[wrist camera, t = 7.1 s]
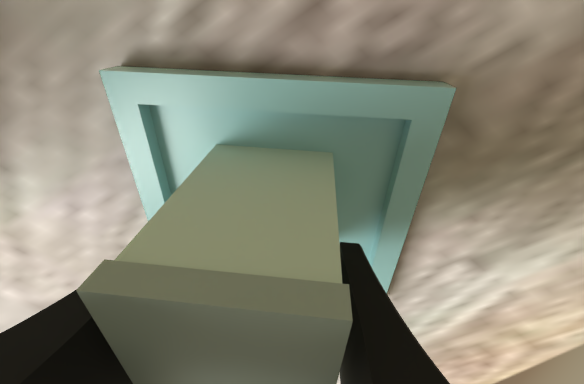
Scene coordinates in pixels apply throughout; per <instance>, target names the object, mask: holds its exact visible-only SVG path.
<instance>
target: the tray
mask: <svg viewBox="0 0 584 384" xmlns="http://www.w3.org/2000/svg"><path fill="white" fill-rule="evenodd" d="M99 72H100V75H101V78H102V81H103V84H104V88H105V91H106V94H107V97H108V100H109V103H110V106H111V109H112V112H113V115H114V118H115V121H116V124H117V127H118V130H119V133H120V137H121V140H122V143H123V146H124V149H125V152H126V155H127V158H128V161H129V164H130V167H131V170H132V173H133V176H134V179H135V183H136V186H137V189H138V192H139V195H140V198H141V201H142V204H143V207H144V210H145V213H146V216H147V219H148V221H149V220H150V219H151V218H152V217H153V216H154V215H155V214H156V212H157V211H158V210H159V209H160V208H161V207H162V206H163V204H164V203H165V202H166V201H167V200H168V199H169V198H170V196H171V195H172V194H173V193H174V192H175V191H176V190H177V188H178V187H179V186H180V185H181V184H182V183H183V182H184V181H185V179H186V178H187V177H188V176H189V175H190V174H191V173H192V171H193V170H194V169H195V168H196V167H197V166H198V165H199V163H200V162H201V161H202V160H203V159H204V158H205V157H206V156H207V154H208V153H209V152H210V151H211V150H212V149H213V148H214V146H215V145H216V144H217V145H232V146H246V147H260V148H274V149H289V150H303V151H317V152H331V153H333V163H334V177H335V190H336V204H337V217H338V231H339V244H340V242H348V243H359V244H360V245H361V246H362V249H363V251H364V253H365V255H366V257H367V259H368V261H369V263H370V265H371V267H372V269H373V271H374V273H375V274H376V276H377V278H378V280H379V282H380V283H381V285H382V287H383V289H384V290H385V292H386V294H387V291H388V288H389V285H390V282H391V279H392V276H393V273H394V270H395V268H396V265H397V262H398V259H399V256H400V253H401V250H402V247H403V244H404V241H405V238H406V235H407V232H408V229H409V226H410V223H411V220H412V217H413V214H414V212H415V209H416V206H417V203H418V200H419V197H420V194H421V191H422V188H423V185H424V182H425V179H426V176H427V173H428V170H429V167H430V164H431V161H432V159H433V156H434V153H435V150H436V147H437V144H438V141H439V138H440V135H441V132H442V129H443V126H444V123H445V120H446V117H447V114H448V111H449V108H450V105H451V103H452V100H453V97H454V94H455V91H456V88H455V87H453V86H451V85H449V84H447V83H445V82H438V81H417V80H397V79H376V78H355V77H335V76H314V75H293V74H273V73H252V72H231V71H211V70H190V69H169V68H149V67H128V66H117V67H112V68H107V69H103V70H99Z"/></svg>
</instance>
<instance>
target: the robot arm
mask: <svg viewBox="0 0 584 384" xmlns="http://www.w3.org/2000/svg"><path fill="white" fill-rule="evenodd" d="M340 258H341V271H342V284H349V289H350V299H351V309H352V319H353V322H352V326H351V329H350V333H349V337H348V341H347V345H346V349H345V352H344V356H343V360H342V364H341V368H340V380H341V384H450V383H449V382H448V381H447V379H446V378H445V377H444V376H443V374H442V373H441V372H440V371H439V369H438V368H437V367H436V365H435V364H434V363H433V361H432V360H431V359H430V357H429V356H428V355H427V353H426V352H425V351H424V349H423V348H422V347H421V345H420V344H419V342H418V341H417V340H416V338H415V337H414V335H413V334H412V332H411V331H410V329H409V328H408V327H407V325H406V324H405V322H404V321H403V319H402V318H401V316H400V315H399V313H398V311H397V310H396V308H395V307H394V305H393V303H392V302H391V300H390V298H389V297H388V295H387V294H386V292H385V290H384V289H383V287H382V285H381V283H380V282H379V280H378V278H377V276H376V274H375V273H374V271H373V269H372V267H371V265H370V263H369V261H368V259H367V257H366V255H365V253H364V251H363V249H362V246H361V245H360V244H359V243H348V242H340ZM0 384H133V383H132V381H131V380H130V378H129V376H128V375H127V373H126V371H125V370H124V368H123V366H122V365H121V363H120V362H119V360H118V358H117V357H116V355H115V353H114V352H113V350H112V348H111V347H110V345H109V344H108V342H107V340H106V339H105V337H104V335H103V334H102V332H101V331H100V329H99V327H98V326H97V324H96V322H95V321H94V319H93V317H92V316H91V314H90V313H89V311H88V309H87V308H86V306H85V304H84V303H83V301H82V299H81V298H80V296H79V295H78V293H77V291H76V290H75V291H74V292H72V293H70V294H69V295H67V296H66V297H64V298H62V299H61V300H59V301H57V302H56V303H54V304H52V305H51V306H49V307H47V308H45V309H44V310H42V311H40V312H38V313H37V314H35V315H33V316H31V317H30V318H28V319H26V320H24V321H23V322H21V323H19V324H17V325H15V326H13V327H12V328H10V329H8V330H6V331H4V332H2V333H0Z"/></svg>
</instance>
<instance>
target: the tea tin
mask: <svg viewBox="0 0 584 384" xmlns="http://www.w3.org/2000/svg"><path fill="white" fill-rule="evenodd" d="M76 291H77V293H78V295H79V296H80V298H81V299H82V301H83V303H84V304H85V306H86V308H87V309H88V311H89V313H90V314H91V316H92V317H93V319H94V321H95V322H96V324H97V326H98V327H99V329H100V331H101V332H102V334H103V335H104V337H105V339H106V340H107V342H108V344H109V345H110V347H111V348H112V350H113V352H114V353H115V355H116V357H117V358H118V360H119V362H120V363H121V365H122V366H123V368H124V370H125V371H126V373H127V375H128V376H129V378H130V380H131V381H132V383H133V384H336V383H337V379H338V375H339V371H340V368H341V364H342V360H343V356H344V352H345V349H346V345H347V341H348V337H349V333H350V329H351V326H352V322H353V319H352V309H351V299H350V289H349V284H342V271H341V258H340V244H339V231H338V217H337V204H336V190H335V177H334V163H333V153H331V152H317V151H303V150H289V149H274V148H260V147H246V146H232V145H217V144H216V145H215V146H214V148H213V149H212V150H211V151H210V152H209V153H208V154H207V156H206V157H205V158H204V159H203V160H202V161H201V162H200V163H199V165H198V166H197V167H196V168H195V169H194V170H193V171H192V173H191V174H190V175H189V176H188V177H187V178H186V179H185V181H184V182H183V183H182V184H181V185H180V186H179V187H178V188H177V190H176V191H175V192H174V193H173V194H172V195H171V196H170V198H169V199H168V200H167V201H166V202H165V203H164V204H163V206H162V207H161V208H160V209H159V210H158V211H157V212H156V214H155V215H154V216H153V217H152V218H151V219H150V220H149V221H148V223H147V224H146V225H145V226H144V227H143V228H142V229H141V231H140V232H139V233H138V234H137V235H136V236H135V237H134V239H133V240H132V241H131V242H130V243H129V244H128V245H127V247H126V248H125V249H124V250H123V251H122V252H121V253H120V254H119V256H118V257H117V258H116V259H115V260H104V261H103V262H102V263H101V264H100V265H99V266H98V267H97V268H96V269H95V270H94V272H93V273H92V274H91V275H90V276H89V277H88V278H87V279H86V280H85V281H84V282H83V283H82V285H81V286H80V287H79V288H78V289H77V290H76Z"/></svg>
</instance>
